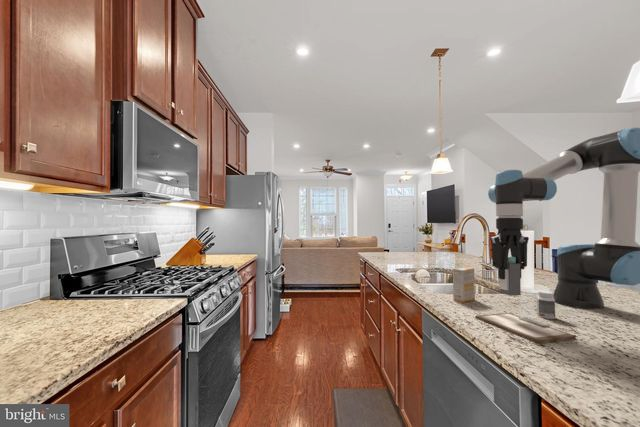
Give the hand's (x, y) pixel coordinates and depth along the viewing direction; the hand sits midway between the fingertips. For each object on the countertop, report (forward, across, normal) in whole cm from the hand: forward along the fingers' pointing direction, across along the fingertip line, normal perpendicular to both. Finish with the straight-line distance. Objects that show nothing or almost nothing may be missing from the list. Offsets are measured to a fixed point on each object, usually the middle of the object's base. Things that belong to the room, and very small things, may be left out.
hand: (510, 288), depth 98 cm
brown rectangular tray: (+10, +3, +6) cm, 12 cm away
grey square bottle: (+2, 0, 0) cm, 2 cm away
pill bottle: (+10, -15, 0) cm, 18 cm away
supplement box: (+10, -4, -26) cm, 28 cm away
